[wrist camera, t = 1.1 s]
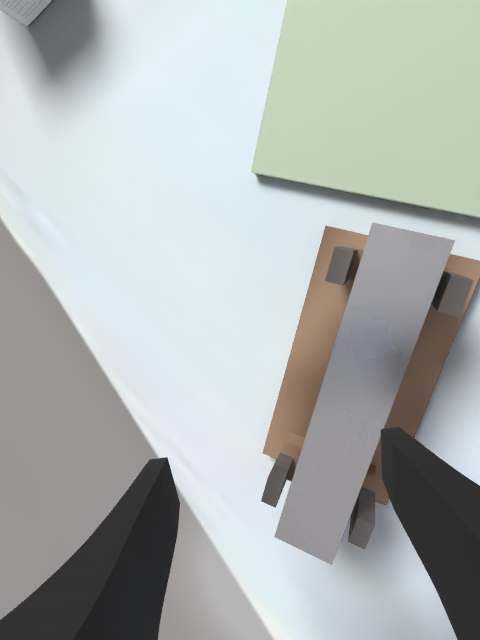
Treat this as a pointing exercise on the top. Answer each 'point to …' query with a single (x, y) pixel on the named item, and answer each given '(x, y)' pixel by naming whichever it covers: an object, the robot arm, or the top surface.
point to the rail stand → (315, 351)
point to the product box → (23, 9)
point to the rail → (361, 383)
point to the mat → (377, 101)
